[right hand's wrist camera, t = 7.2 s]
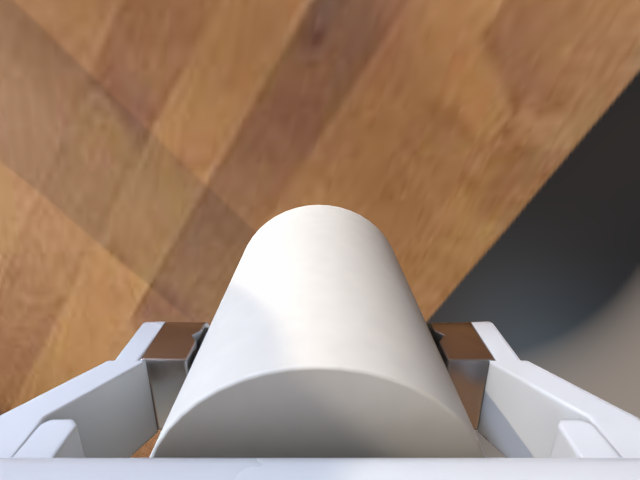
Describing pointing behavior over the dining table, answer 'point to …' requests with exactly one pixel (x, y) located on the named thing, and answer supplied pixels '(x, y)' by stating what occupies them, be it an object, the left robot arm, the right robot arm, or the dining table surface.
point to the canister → (318, 355)
